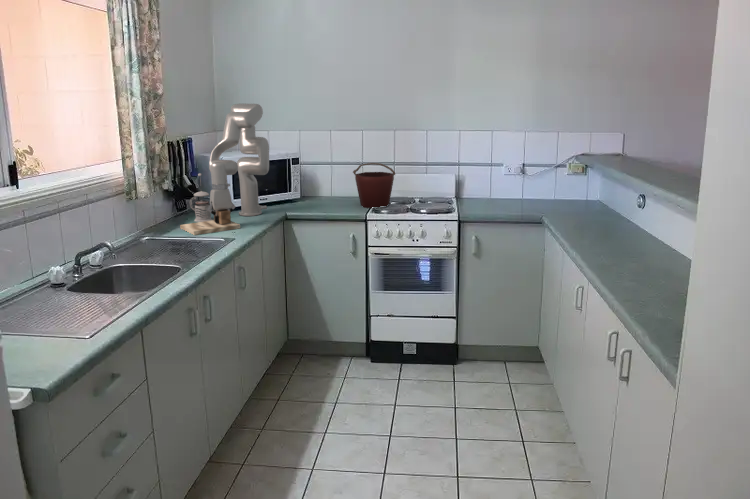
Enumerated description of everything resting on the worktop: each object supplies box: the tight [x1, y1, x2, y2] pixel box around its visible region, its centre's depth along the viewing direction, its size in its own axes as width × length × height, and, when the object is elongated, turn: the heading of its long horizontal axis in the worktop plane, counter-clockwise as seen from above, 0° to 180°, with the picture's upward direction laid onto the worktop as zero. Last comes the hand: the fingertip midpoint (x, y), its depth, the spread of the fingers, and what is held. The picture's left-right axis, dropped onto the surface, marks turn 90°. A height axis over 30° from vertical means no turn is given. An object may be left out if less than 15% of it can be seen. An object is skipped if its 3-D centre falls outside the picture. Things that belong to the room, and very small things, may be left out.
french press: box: [189, 173, 214, 223], centre depth 331 cm, size 10×12×25 cm
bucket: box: [352, 162, 396, 209], centre depth 366 cm, size 24×22×25 cm
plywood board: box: [179, 219, 241, 236], centre depth 313 cm, size 24×18×2 cm
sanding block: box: [213, 209, 232, 225], centre depth 316 cm, size 5×9×6 cm, turn 37°
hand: (222, 222), depth 317 cm, fingers closed on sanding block, 5 cm apart
